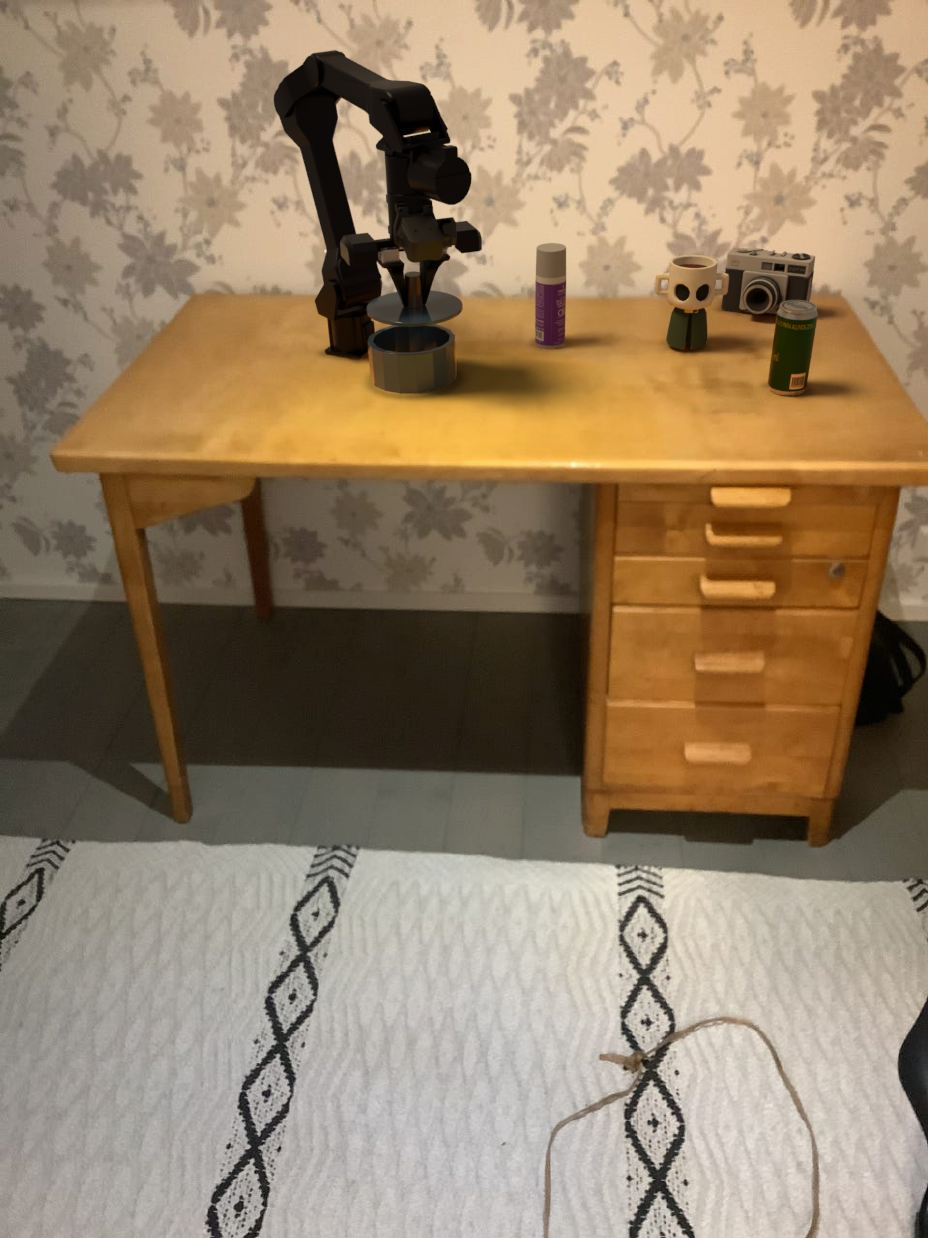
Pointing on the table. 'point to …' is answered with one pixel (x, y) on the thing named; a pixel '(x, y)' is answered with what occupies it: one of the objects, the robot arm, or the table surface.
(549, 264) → the container
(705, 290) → the character mug
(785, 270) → the camera
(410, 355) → the canister
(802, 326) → the beer can
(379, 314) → the lid
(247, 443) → the table surface
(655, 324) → the table surface
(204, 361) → the table surface
